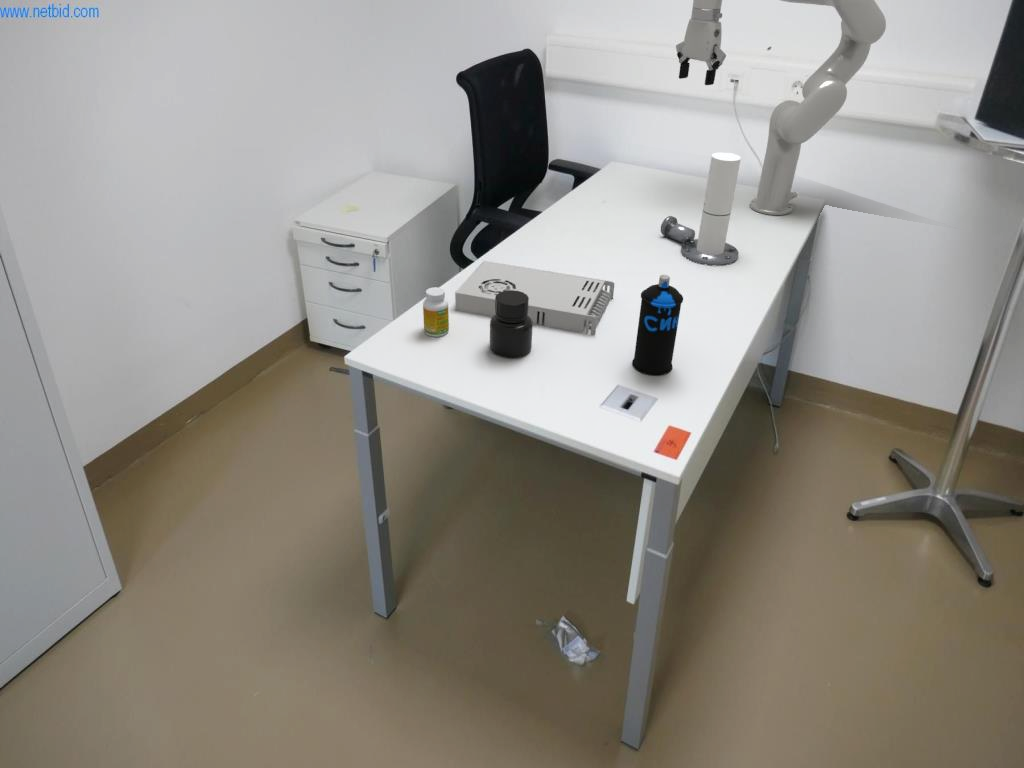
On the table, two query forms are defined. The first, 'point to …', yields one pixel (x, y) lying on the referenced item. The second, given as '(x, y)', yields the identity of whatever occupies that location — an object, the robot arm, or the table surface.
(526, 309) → the ink bottle
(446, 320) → the supplement bottle
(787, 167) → the robot arm
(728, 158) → the cylindrical container
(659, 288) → the aerosol can
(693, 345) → the table surface
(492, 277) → the power supply unit
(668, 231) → the flange fitting
